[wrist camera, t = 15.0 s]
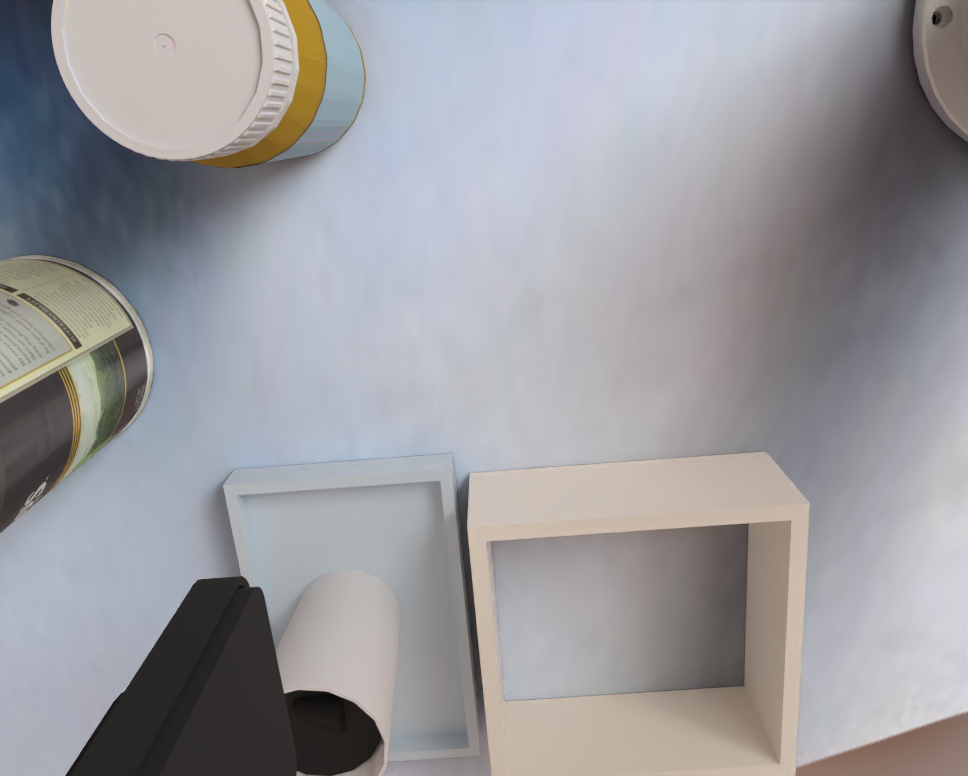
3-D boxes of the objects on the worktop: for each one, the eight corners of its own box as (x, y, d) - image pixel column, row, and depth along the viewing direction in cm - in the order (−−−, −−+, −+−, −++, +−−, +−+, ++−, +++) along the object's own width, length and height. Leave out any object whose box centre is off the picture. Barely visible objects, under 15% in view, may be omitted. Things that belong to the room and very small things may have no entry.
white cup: (278, 568, 43) (220, 694, 34) (400, 555, 43) (375, 678, 33) (302, 670, 45) (253, 816, 36) (418, 658, 45) (400, 802, 35)
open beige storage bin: (765, 451, 42) (810, 503, 36) (757, 696, 47) (795, 775, 41) (469, 473, 42) (467, 527, 36) (492, 713, 47) (493, 794, 41)
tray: (452, 453, 42) (450, 468, 40) (480, 730, 47) (480, 756, 46) (234, 469, 42) (222, 485, 40) (288, 742, 48) (280, 768, 46)
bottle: (399, 75, 36) (342, 42, 22) (299, 188, 38) (185, 227, 23) (280, -47, 34) (136, -166, 20) (181, 77, 36) (-17, 47, 22)
